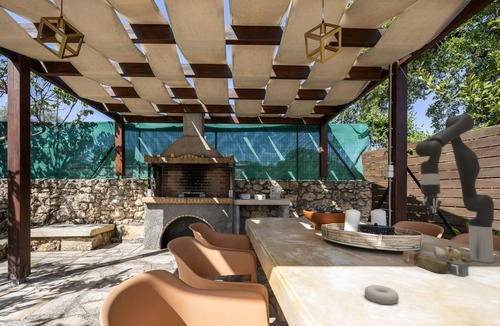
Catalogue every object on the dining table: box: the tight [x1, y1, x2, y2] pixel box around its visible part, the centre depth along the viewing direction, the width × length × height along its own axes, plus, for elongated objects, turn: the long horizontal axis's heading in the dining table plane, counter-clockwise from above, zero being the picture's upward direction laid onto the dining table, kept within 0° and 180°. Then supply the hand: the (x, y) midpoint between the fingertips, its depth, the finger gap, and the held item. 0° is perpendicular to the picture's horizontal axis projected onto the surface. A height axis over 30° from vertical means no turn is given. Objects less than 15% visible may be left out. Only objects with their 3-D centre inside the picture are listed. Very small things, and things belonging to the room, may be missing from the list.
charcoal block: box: [448, 260, 469, 278], centre depth 116 cm, size 5×5×5 cm
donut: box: [364, 284, 400, 305], centre depth 89 cm, size 10×3×10 cm
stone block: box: [417, 255, 449, 275], centre depth 122 cm, size 6×12×5 cm, turn 10°
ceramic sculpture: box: [433, 245, 474, 264], centre depth 133 cm, size 11×9×15 cm
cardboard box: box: [402, 250, 421, 265], centre depth 133 cm, size 5×5×5 cm
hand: (432, 220), depth 128 cm, fingers closed
